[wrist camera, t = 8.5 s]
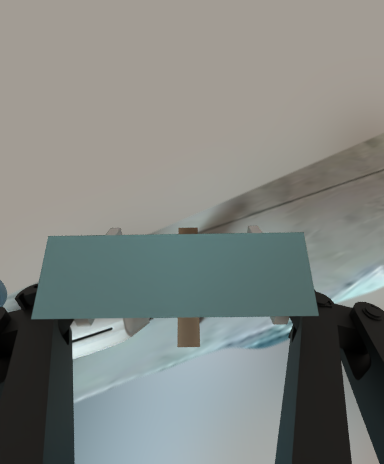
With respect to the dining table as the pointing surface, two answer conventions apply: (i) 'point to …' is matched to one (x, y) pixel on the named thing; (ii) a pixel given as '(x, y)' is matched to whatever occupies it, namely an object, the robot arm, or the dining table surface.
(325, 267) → the dining table surface
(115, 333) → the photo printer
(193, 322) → the walnut slotted board
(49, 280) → the teal slotted plate
